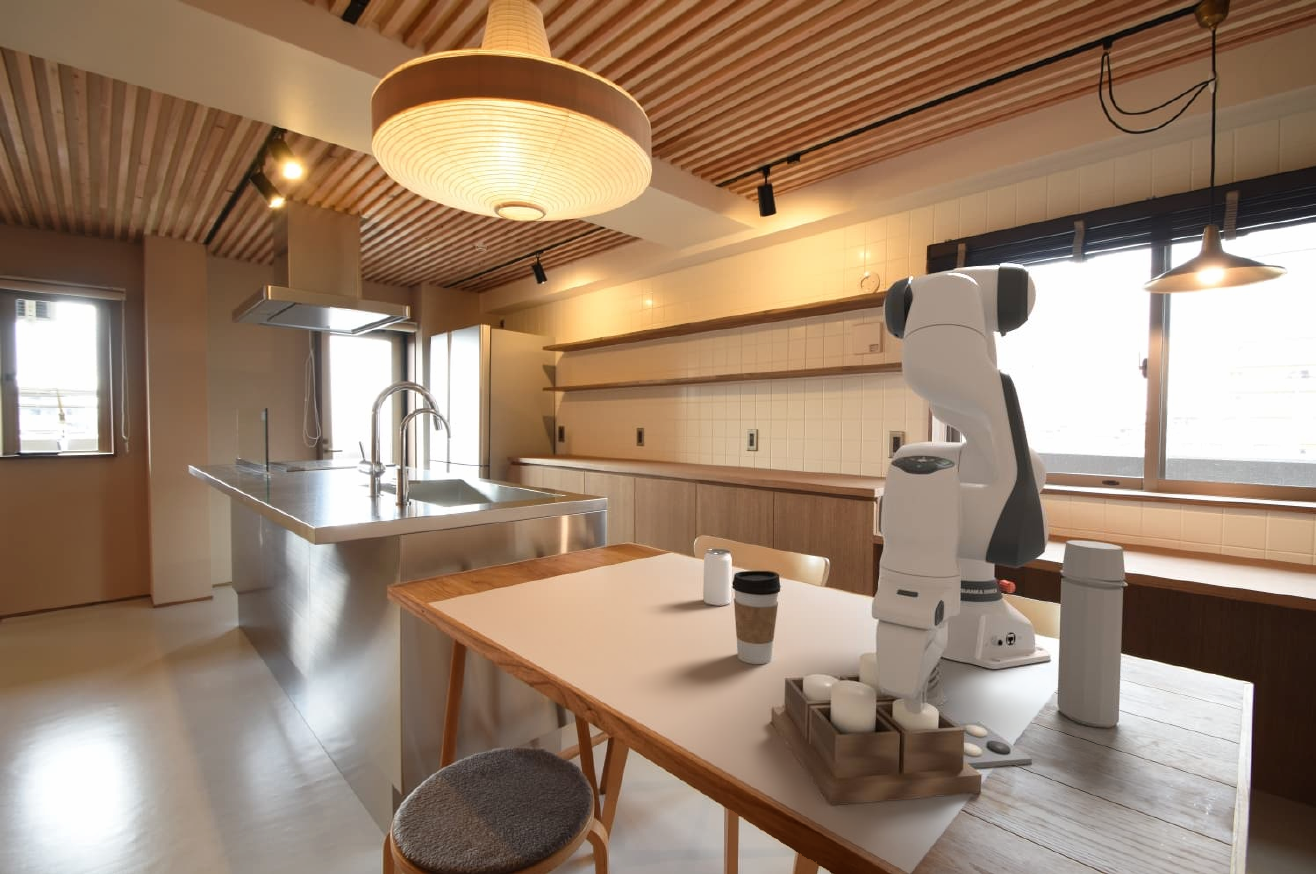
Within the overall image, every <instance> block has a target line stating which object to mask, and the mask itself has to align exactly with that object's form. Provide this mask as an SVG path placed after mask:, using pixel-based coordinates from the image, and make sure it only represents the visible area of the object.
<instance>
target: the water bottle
mask: <svg viewBox="0 0 1316 874" xmlns="http://www.w3.org/2000/svg"><path fill="white" fill-rule="evenodd" d="M1124 558H1125V557H1124V548H1123V547H1122V546H1120V545H1116V544H1112V543H1108V542H1107V543H1106V542H1099V541H1090V540H1078V539H1077V540H1066V541H1065V545H1064V554H1063V562H1062V569H1061V570H1059V573H1060V574H1061V576H1062V578H1061V579H1060V582H1061V583H1060V607H1059V608H1060V609H1059V615H1060V616H1059V637H1058V638H1059V640H1058V641H1059V643H1058V645H1059V646H1058V669H1057V670H1058V672H1057V675H1058V676H1057V677H1058V678H1057V701H1056V702H1057V707H1058V710H1059V711H1060V712H1061V714H1062V715H1064V716H1066V717H1067V718H1069V719H1070V720H1072V721H1074V722H1076V723H1079V724H1081V725H1084V726H1085V725H1086V726H1089V727H1094V728H1112V727H1113V726H1115V725H1117V724H1118V723H1119V722H1120V697H1121V696H1120V692H1121V665H1122V663H1121V661H1122V634H1123V633H1122V630H1123V629H1122V628H1123V603H1124V599H1123V597H1124V588H1123V587H1128V586H1129V584H1128V583H1127V582H1125V580H1126V570H1125V559H1124Z"/></svg>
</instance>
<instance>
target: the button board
mask: <svg viewBox="0 0 1316 874" xmlns="http://www.w3.org/2000/svg"><path fill="white" fill-rule="evenodd" d="M859 675H860V674H848V675H847V674H845V675H839V677H838V676H836V675H830V676H831V677H834V678H836V679H838V680H839V681H843V680H848V681H856V682H859ZM804 677H805V676H803V677H786V678H784V703H783V704H784V706H783V705H781V706H771V719H770V720H771V724H772V725H773V726H774V727H775V728H776V730H777V731H778V733H779V735H780V736H781V737H782V739H783V740H784V742H785V743H786V744H787V746H788V747H789V748H790V750H791V751H792V753H793V754H794V755H795V757H796V759H797V760H798V761H799V763H800V765H802V767H803V768H804V770H805V771H806V773H807V774H808V775H809V778H811V780H812V781H813V782H814V783H815V785H816V787H817V788H818V789H819V791H820V792H821V793H822V795H823V796H824V798H825V800H826V801H827V802H828V804H829V805H830V806H838V805H839V806H840V805H852V804H862V803H873V802H886V801H897V800H910V799H921V798H932V797H944V796H955V795H957V796H958V795H967V794H980V793H981V794H982V773H980V772H979V771H977V770H976V769H975V768H973V767H971V766H970V765H969V764H968V763H967V762H965V761H964V760H963V758H964V729H963V728H961V727H960V726H959V725H957V724H956V723H957V722H955V721H954V720H952V719H951V718H950V717H948V716H947V715H945V714H944V713H943V712H942V711H940V710H939V709H937V710H938V712H939V720H938V729H923V730H908V731H907V730H905V729H904V728H903V727H902V726H901V725H900V724H899V723H897V722H896V721H895V720H894V719H893V718H892V717H893V702H894V701H895V700H897V699H902V698H898V697H880V698H876V726H875V733H861V734H845V735H840V734H839V733H838V731H837V730H836V729H835V728H834V727H833V726H832V725H831V724H830V719H831V700H824V701H810V700H809V699H808V698H807V697H806V696H805V695H804V694H803V679H804ZM926 703H928V702H927V701H926ZM928 704H929V703H928ZM930 705H931V704H930Z"/></svg>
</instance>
